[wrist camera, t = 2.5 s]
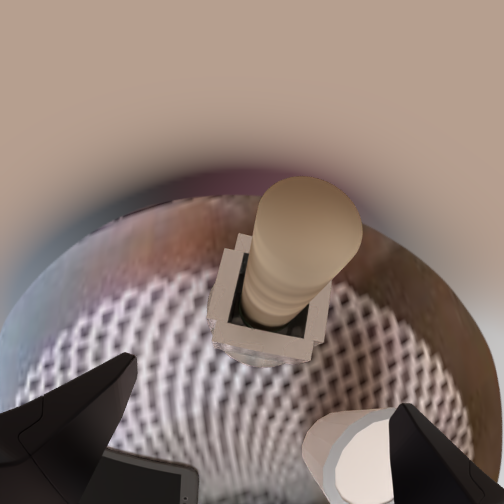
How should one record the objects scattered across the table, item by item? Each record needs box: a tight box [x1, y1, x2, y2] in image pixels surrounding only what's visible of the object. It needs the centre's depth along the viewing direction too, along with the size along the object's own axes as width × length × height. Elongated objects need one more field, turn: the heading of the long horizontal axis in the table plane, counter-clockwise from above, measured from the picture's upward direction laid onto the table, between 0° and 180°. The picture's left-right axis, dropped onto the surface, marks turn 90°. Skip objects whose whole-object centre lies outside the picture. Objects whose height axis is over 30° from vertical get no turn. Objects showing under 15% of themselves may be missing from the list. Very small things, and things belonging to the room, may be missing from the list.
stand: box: [206, 233, 332, 368], centre depth 20 cm, size 8×8×5 cm
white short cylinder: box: [302, 407, 397, 504], centre depth 15 cm, size 7×7×7 cm
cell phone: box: [78, 449, 199, 504], centre depth 15 cm, size 7×14×1 cm, turn 85°
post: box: [239, 176, 363, 333], centre depth 15 cm, size 4×4×12 cm
